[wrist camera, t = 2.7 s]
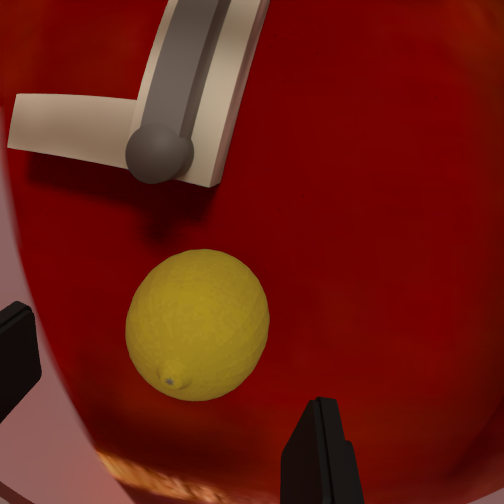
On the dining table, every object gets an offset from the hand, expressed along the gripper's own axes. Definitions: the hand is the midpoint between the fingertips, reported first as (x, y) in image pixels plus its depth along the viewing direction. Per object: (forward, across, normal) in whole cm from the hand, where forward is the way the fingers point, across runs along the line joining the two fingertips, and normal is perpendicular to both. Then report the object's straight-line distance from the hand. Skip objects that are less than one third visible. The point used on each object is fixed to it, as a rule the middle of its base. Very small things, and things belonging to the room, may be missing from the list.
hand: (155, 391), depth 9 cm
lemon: (+8, 0, -1) cm, 8 cm away
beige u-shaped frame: (+8, +6, -13) cm, 17 cm away
